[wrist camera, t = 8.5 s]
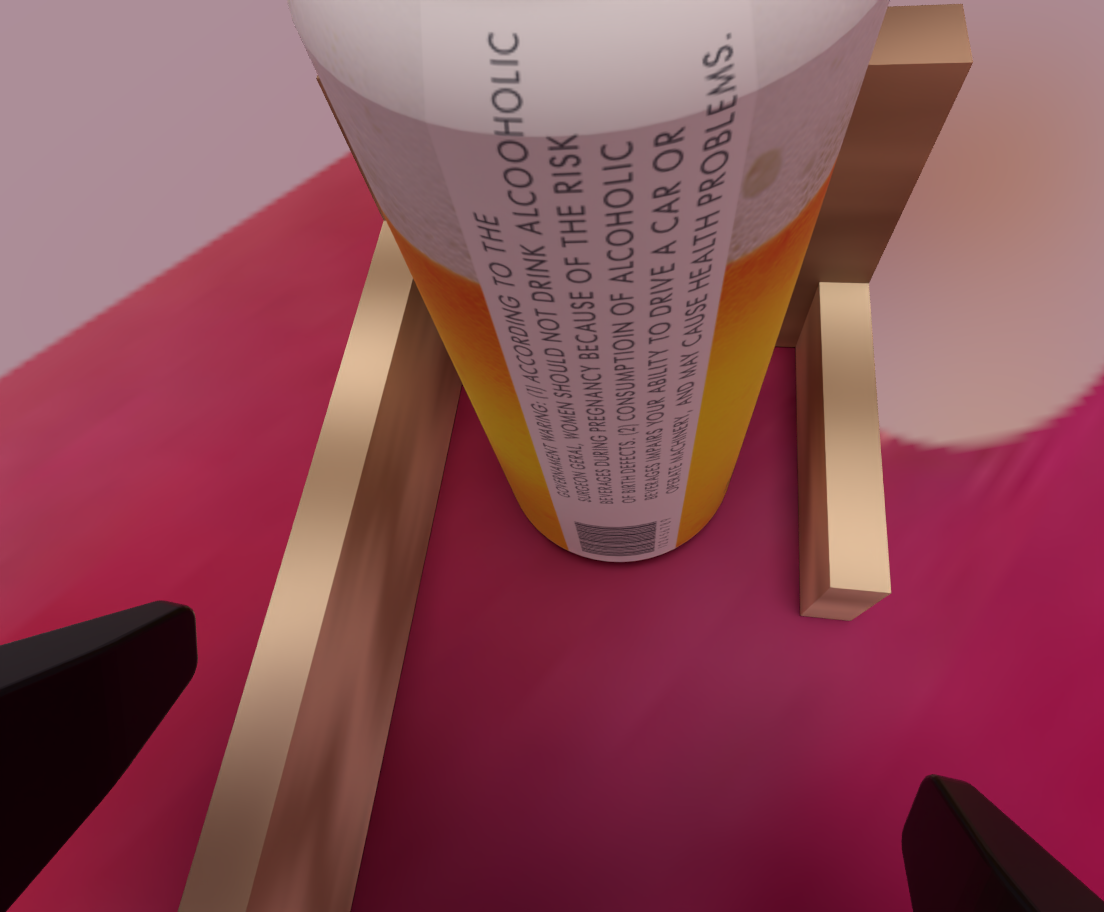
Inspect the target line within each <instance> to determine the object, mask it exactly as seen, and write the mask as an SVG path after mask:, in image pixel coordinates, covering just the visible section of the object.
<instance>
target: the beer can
mask: <svg viewBox="0 0 1104 912" xmlns="http://www.w3.org/2000/svg"><path fill="white" fill-rule="evenodd" d="M889 1H890V0H287V3H288V6H289V9H290V13H291V16H292V20H293V23H294V25H295V27H296V29H297V31H298V34H299V36H300V38H301V40H302V42H303V44H304V46H305V48H306V51H307V53H308V55H309V57H310V59H311V61H312V63H313V66H314V67H315V70H316V72H317V74H318V76H319V78H320V81H321V83H322V85H323V87H324V89H325V91H326V93H327V95H328V98H329V100H330V102H331V104H332V106H333V108H334V110H335V113H336V115H337V117H338V119H339V121H340V123H341V125H342V127H343V130H344V132H345V134H346V136H347V138H348V140H349V142H350V145H351V147H352V149H353V151H354V153H355V155H356V157H357V160H358V162H359V164H360V166H361V168H362V170H363V172H364V174H365V177H366V179H367V181H368V183H369V185H370V187H371V189H372V192H373V194H374V196H375V198H376V200H377V202H378V204H379V206H380V209H381V211H382V213H383V215H384V217H385V219H386V221H387V224H388V226H389V228H390V230H391V232H392V234H393V236H394V239H395V241H396V243H397V245H398V247H399V249H400V251H401V253H402V256H403V258H404V260H405V262H406V264H407V266H408V268H409V271H410V273H411V275H412V277H413V279H414V281H415V283H416V286H417V288H418V290H419V292H420V294H421V296H422V298H423V300H424V303H425V305H426V307H427V309H428V311H429V313H430V315H431V318H432V320H433V322H434V324H435V326H436V328H437V330H438V332H439V335H440V337H441V339H442V341H443V343H444V345H445V347H446V350H447V352H448V354H449V356H450V358H451V360H452V362H453V365H454V367H455V369H456V371H457V373H458V375H459V377H460V379H461V382H462V384H463V386H464V388H465V390H466V392H467V394H468V397H469V399H470V401H471V403H472V405H473V407H474V409H475V411H476V414H477V416H478V418H479V420H480V422H481V424H482V426H483V429H484V431H485V433H486V435H487V437H488V439H489V441H490V444H491V446H492V448H493V450H494V452H495V454H496V456H497V458H498V461H499V463H500V465H501V467H502V469H503V471H504V473H505V476H506V478H507V480H508V482H509V484H510V486H511V488H512V490H513V493H514V495H515V497H516V499H517V501H518V503H519V505H520V507H521V509H522V510H523V512H524V513H525V515H526V516H527V518H528V519H529V520H530V522H531V523H532V524H533V525H534V526H535V527H536V528H537V529H538V530H539V531H540V532H541V533H542V534H543V535H544V536H545V537H547V538H548V539H549V540H551V541H552V542H554V543H555V544H557V545H558V546H560V547H562V548H564V549H566V550H568V551H570V552H572V553H575V554H577V555H580V556H583V557H587V558H590V559H594V560H601V561H607V562H629V561H638V560H643V559H648V558H652V557H655V556H658V555H661V554H664V553H666V552H668V551H671V550H673V549H675V548H677V547H678V546H680V545H682V544H683V543H685V542H687V541H688V540H689V539H691V538H692V537H693V536H695V535H696V534H697V533H698V532H699V531H700V530H701V529H702V528H703V527H704V526H705V525H706V524H707V523H708V522H709V521H710V519H711V518H712V517H713V516H714V514H715V513H716V511H717V509H718V508H719V506H720V504H721V503H722V500H723V498H724V496H725V494H726V491H727V488H728V485H729V482H730V479H731V476H732V473H733V470H734V467H735V464H736V461H737V458H738V455H739V452H740V449H741V446H742V443H743V440H744V437H745V434H746V431H747V428H748V425H749V422H750V419H751V416H752V413H753V410H754V407H755V404H756V401H757V398H758V395H759V392H760V389H761V386H762V383H763V380H764V377H765V374H766V371H767V368H768V365H769V362H770V359H771V356H772V353H773V350H774V347H775V344H776V341H777V338H778V335H779V332H780V329H781V326H782V323H783V320H784V317H785V314H786V311H787V308H788V305H789V302H790V299H791V296H792V293H793V290H794V287H795V284H796V281H797V278H798V275H799V272H800V269H801V266H802V263H803V260H804V257H805V254H806V251H807V248H808V245H809V242H810V239H811V236H812V233H813V230H814V227H815V224H816V221H817V218H818V215H819V212H820V209H821V206H822V203H823V200H824V197H825V194H826V191H827V188H828V185H829V182H830V179H831V176H832V173H833V170H834V167H835V164H836V161H837V158H838V155H839V152H840V149H841V146H842V143H843V140H844V137H845V134H846V131H847V128H848V125H849V122H850V119H851V116H852V113H853V109H854V106H855V103H856V100H857V97H858V94H859V91H860V88H861V85H862V82H863V79H864V76H865V73H866V70H867V67H868V64H869V61H870V58H871V55H872V52H873V49H874V46H875V43H876V40H877V37H878V34H879V31H880V28H881V25H882V22H883V19H884V16H885V13H886V10H887V7H888V4H889Z"/></svg>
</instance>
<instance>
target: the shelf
mask: <svg viewBox="0 0 1104 912" xmlns="http://www.w3.org/2000/svg"><path fill="white" fill-rule="evenodd" d="M972 63H973V60H972V54H971V49H970V43H969V38H968V32H967V27H966V21H965V15H964V9H963V4H947V5H921V6H894V7H887V10H886V13H885V16H884V19H883V22H882V25H881V28H880V31H879V34H878V37H877V40H876V43H875V46H874V49H873V52H872V55H871V58H870V61H869V64H868V67H867V70H866V73H865V76H864V79H863V82H862V85H861V88H860V91H859V94H858V97H857V100H856V103H855V106H854V109H853V113H852V116H851V119H850V122H849V125H848V128H847V131H846V134H845V137H844V140H843V143H842V146H841V149H840V152H839V155H838V158H837V161H836V164H835V167H834V170H833V173H832V176H831V179H830V182H829V185H828V188H827V191H826V194H825V197H824V200H823V203H822V206H821V209H820V212H819V215H818V218H817V221H816V224H815V227H814V230H813V233H812V236H811V239H810V242H809V245H808V248H807V251H806V254H805V257H804V260H803V263H802V266H801V269H800V272H799V275H798V278H797V281H796V284H795V287H794V290H793V293H792V296H791V299H790V302H789V305H788V308H787V311H786V314H785V317H784V320H783V323H782V326H781V329H780V332H779V335H778V338H777V341H776V344H775V346H779V347H796V401H797V458H798V515H799V572H800V616H808V617H818V618H828V619H838V620H847V621H851V620H853V619H854V618H856V617H857V616H859V615H860V614H861V613H863V612H864V611H866V610H867V609H869V608H870V607H872V606H873V605H875V604H876V603H877V602H879V601H880V600H882V599H883V598H885V597H886V596H888V595H889V594H891V585H890V571H889V557H888V543H887V530H886V516H885V502H884V488H883V474H882V460H881V446H880V433H879V419H878V406H877V391H876V378H875V363H874V350H873V336H872V323H871V308H870V295H869V282H870V280H871V278H872V275H873V273H874V271H875V269H876V267H877V265H878V263H879V260H880V258H881V256H882V254H883V252H884V250H885V248H886V246H887V243H888V242H889V239H890V237H891V235H892V233H893V231H894V229H895V226H896V225H897V222H898V220H899V218H900V216H901V214H902V211H903V210H904V208H905V205H906V203H907V201H908V199H909V197H910V195H911V193H912V191H913V188H914V186H915V184H916V182H917V180H918V178H919V176H920V174H921V172H922V169H923V167H924V165H925V163H926V161H927V159H928V157H929V154H930V152H931V150H932V148H933V146H934V144H935V142H936V140H937V137H938V135H939V133H940V131H941V129H942V127H943V125H944V123H945V121H946V118H947V116H948V114H949V112H950V110H951V108H952V106H953V104H954V101H955V99H956V97H957V95H958V93H959V91H960V89H961V87H962V84H963V82H964V80H965V78H966V76H967V74H968V72H969V70H970V68H971V65H972ZM316 79H317V81H318V83H319V85H320V87H321V89H322V91H323V93H324V96H325V98H326V100H327V102H328V104H329V106H330V108H331V110H332V113H333V115H334V117H335V119H336V121H337V123H338V125H339V127H340V129H341V131H342V134H343V136H344V138H345V140H346V142H347V144H348V146H349V148H350V150H351V153H352V155H353V157H354V159H355V161H356V163H357V165H358V167H359V169H360V172H361V174H362V176H363V178H364V180H365V182H366V184H367V186H368V188H369V190H370V193H371V195H372V197H373V199H374V201H375V203H376V205H377V207H378V209H379V212H380V214H381V216H382V218H383V220H384V222H383V225H382V229H381V232H380V235H379V239H378V242H377V245H376V249H375V252H374V255H373V259H372V262H371V265H370V269H369V272H368V275H367V279H366V282H365V286H364V289H363V292H362V296H361V299H360V302H359V306H358V309H357V312H356V316H355V319H354V322H353V326H352V329H351V332H350V336H349V339H348V343H347V346H346V349H345V353H344V356H343V359H342V363H341V366H340V369H339V373H338V376H337V379H336V383H335V386H334V389H333V393H332V396H331V400H330V403H329V406H328V410H327V413H326V416H325V420H324V423H323V426H322V430H321V433H320V436H319V440H318V443H317V446H316V450H315V453H314V456H313V460H312V463H311V467H310V470H309V473H308V477H307V480H306V483H305V487H304V490H303V493H302V497H301V500H300V503H299V507H298V510H297V513H296V517H295V520H294V524H293V527H292V530H291V534H290V537H289V540H288V544H287V547H286V550H285V554H284V557H283V560H282V564H281V567H280V570H279V574H278V577H277V580H276V584H275V587H274V591H273V594H272V597H271V601H270V604H269V607H268V611H267V614H266V617H265V621H264V624H263V627H262V631H261V634H260V637H259V641H258V644H257V648H256V651H255V654H254V658H253V661H252V664H251V668H250V671H249V674H248V678H247V681H246V684H245V688H244V691H243V694H242V698H241V701H240V705H239V708H238V711H237V715H236V718H235V721H234V725H233V728H232V731H231V735H230V738H229V741H228V745H227V748H226V751H225V755H224V758H223V761H222V765H221V768H220V772H219V775H218V778H217V782H216V785H215V788H214V792H213V795H212V798H211V802H210V805H209V808H208V812H207V815H206V818H205V822H204V825H203V829H202V832H201V835H200V839H199V842H198V845H197V849H196V852H195V855H194V859H193V862H192V865H191V869H190V872H189V875H188V879H187V882H186V886H185V889H184V892H183V896H182V899H181V902H180V906H179V909H178V912H350V911H351V906H352V902H353V897H354V892H355V887H356V883H357V878H358V873H359V868H360V864H361V859H362V854H363V850H364V845H365V840H366V835H367V831H368V826H369V821H370V816H371V812H372V807H373V802H374V798H375V793H376V788H377V783H378V779H379V774H380V769H381V764H382V760H383V755H384V750H385V745H386V741H387V736H388V731H389V727H390V722H391V717H392V712H393V708H394V703H395V698H396V693H397V689H398V684H399V679H400V675H401V670H402V665H403V660H404V656H405V651H406V646H407V641H408V637H409V632H410V627H411V623H412V618H413V613H414V608H415V604H416V599H417V594H418V589H419V585H420V580H421V575H422V571H423V566H424V561H425V556H426V552H427V547H428V542H429V537H430V533H431V528H432V523H433V518H434V514H435V509H436V504H437V500H438V495H439V490H440V485H441V481H442V476H443V471H444V466H445V462H446V457H447V452H448V448H449V443H450V438H451V433H452V429H453V424H454V419H455V414H456V410H457V405H458V400H459V396H460V391H461V386H462V382H461V379H460V377H459V375H458V373H457V371H456V369H455V367H454V365H453V362H452V360H451V358H450V356H449V354H448V352H447V350H446V347H445V345H444V343H443V341H442V339H441V337H440V335H439V332H438V330H437V328H436V326H435V324H434V322H433V320H432V318H431V315H430V313H429V311H428V309H427V307H426V305H425V303H424V300H423V298H422V296H421V294H420V292H419V290H418V288H417V286H416V283H415V281H414V279H413V277H412V275H411V273H410V271H409V268H408V266H407V264H406V262H405V260H404V258H403V256H402V253H401V251H400V249H399V247H398V245H397V243H396V241H395V239H394V236H393V234H392V232H391V230H390V228H389V226H388V224H387V221H386V219H385V217H384V215H383V213H382V211H381V209H380V206H379V204H378V202H377V200H376V198H375V196H374V194H373V192H372V189H371V187H370V185H369V183H368V181H367V179H366V177H365V174H364V172H363V170H362V168H361V166H360V164H359V162H358V160H357V157H356V155H355V153H354V151H353V149H352V147H351V145H350V142H349V140H348V138H347V136H346V134H345V132H344V130H343V127H342V125H341V123H340V121H339V119H338V117H337V115H336V113H335V110H334V108H333V106H332V104H331V102H330V100H329V98H328V95H327V93H326V91H325V89H324V87H323V85H322V83H321V81H320V78H319V76H317V78H316Z"/></svg>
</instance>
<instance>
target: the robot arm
mask: <svg viewBox="0 0 1104 912" xmlns="http://www.w3.org/2000/svg"><path fill="white" fill-rule="evenodd" d="M197 662H198V654H197V636H196V618H195V614H194V612H193V610H192V609H191V608H190V607H189V606H186V605H182V604H178V603H173V602H169V601H155V602H151V603H148V604H144V605H141V606H137V607H134V608H130V609H127V610H123V611H120V612H116V613H113V614H109V615H106V616H102V617H99V618H95V619H92V620H88V621H85V622H81V623H78V624H74V625H71V626H67V627H64V628H60V629H57V630H53V631H50V632H46V633H43V634H39V635H35V636H32V637H28V638H25V639H21V640H18V641H14V642H11V643H7V644H4V645H0V912H6V911H7V910H8V909H9V908H10V906H11V905H12V904H13V903H14V902H15V901H16V899H17V898H18V897H19V896H20V895H21V894H22V893H23V891H24V890H25V889H26V888H27V887H28V886H29V884H30V883H31V882H32V881H33V880H34V879H35V877H36V876H37V875H38V874H39V873H40V872H41V871H42V869H43V868H44V867H45V866H46V865H47V864H48V862H49V861H50V860H51V859H52V858H53V857H54V856H55V854H56V853H57V852H58V851H59V850H60V849H61V847H62V846H63V845H64V844H65V843H66V842H67V840H68V839H69V838H70V837H71V836H72V835H73V834H74V832H75V831H76V830H77V829H78V828H79V827H80V825H81V824H82V823H83V822H84V821H85V820H86V818H87V817H88V816H89V815H90V814H91V813H92V812H93V810H94V809H95V808H96V807H97V806H98V805H99V803H100V802H101V801H102V800H103V799H104V797H105V796H106V795H107V794H108V793H109V791H110V790H111V789H112V788H113V786H114V785H115V784H116V783H117V781H118V780H119V779H120V777H121V776H122V775H123V773H124V772H125V771H126V770H127V768H128V767H129V766H130V764H131V763H132V761H133V760H134V759H135V757H136V756H137V754H138V753H139V752H140V750H141V749H142V747H143V746H144V745H145V743H146V742H147V740H148V739H149V738H150V736H151V735H152V734H153V732H154V731H155V729H156V728H157V727H158V725H159V724H160V722H161V721H162V720H163V718H164V717H165V715H166V714H167V713H168V711H169V710H170V709H171V707H172V706H173V704H174V703H175V702H176V700H177V699H178V697H179V696H180V695H181V693H182V692H183V690H184V689H185V688H186V686H187V685H188V684H189V682H190V681H191V679H192V677H193V675H194V673H195V670H196V667H197ZM902 853H903V858H904V864H905V870H906V875H907V881H908V886H909V892H910V897H911V903H912V908H913V912H1104V901H1103V900H1102V899H1100V898H1099V897H1098V896H1097V895H1096V894H1095V893H1094V892H1092V891H1091V890H1090V889H1089V888H1088V887H1087V886H1086V885H1085V884H1083V883H1082V882H1081V881H1080V880H1079V879H1078V878H1077V877H1075V876H1074V875H1073V874H1072V873H1071V872H1070V871H1069V870H1068V869H1066V868H1065V867H1064V866H1063V865H1062V864H1061V863H1060V862H1058V861H1057V860H1056V859H1055V858H1054V857H1053V856H1052V855H1051V854H1049V853H1048V852H1047V851H1046V850H1045V849H1044V848H1043V847H1041V846H1040V845H1039V844H1038V843H1037V842H1036V841H1035V840H1034V839H1032V838H1031V837H1030V836H1029V835H1028V834H1027V833H1026V832H1024V831H1023V830H1022V829H1021V828H1020V827H1019V826H1018V825H1017V824H1015V823H1014V822H1013V821H1012V820H1011V819H1010V818H1009V817H1007V816H1006V815H1005V814H1004V813H1003V812H1002V811H1001V810H1000V809H998V808H997V807H996V806H995V805H994V804H993V803H992V802H990V801H989V800H988V799H987V798H986V797H985V796H984V795H982V794H981V793H980V792H979V791H978V790H977V789H976V788H975V787H973V786H972V785H971V784H969V783H967V782H965V781H962V780H957V779H953V778H949V777H944V776H940V775H935V774H932V775H928V776H926V777H925V778H924V779H923V781H922V783H921V784H920V787H919V789H918V792H917V794H916V797H915V799H914V802H913V804H912V807H911V810H910V812H909V815H908V817H907V820H906V822H905V825H904V828H903V832H902Z"/></svg>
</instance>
